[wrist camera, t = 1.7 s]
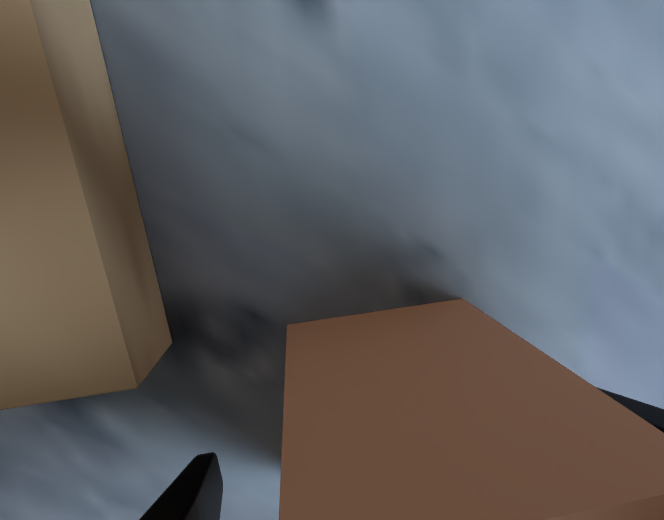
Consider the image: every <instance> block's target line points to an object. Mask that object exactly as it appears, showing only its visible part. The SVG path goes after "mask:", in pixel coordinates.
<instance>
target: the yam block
mask: <svg viewBox="0 0 664 520" xmlns="http://www.w3.org/2000/svg"><path fill="white" fill-rule="evenodd" d="M279 520H664V433H663V432H662V431H660V430H659V429H657V428H656V427H654V426H653V425H651V424H650V423H648V422H647V421H645V420H644V419H642V418H641V417H639V416H638V415H636V414H635V413H633V412H632V411H630V410H629V409H627V408H626V407H624V406H623V405H621V404H620V403H618V402H617V401H615V400H614V399H612V398H611V397H609V396H608V395H606V394H605V393H603V392H602V391H600V390H599V389H597V388H596V387H594V386H593V385H591V384H590V383H588V382H587V381H585V380H584V379H582V378H581V377H579V376H578V375H576V374H575V373H573V372H572V371H570V370H569V369H567V368H566V367H564V366H563V365H561V364H560V363H558V362H557V361H555V360H554V359H552V358H551V357H549V356H548V355H546V354H545V353H543V352H542V351H540V350H539V349H537V348H536V347H534V346H533V345H531V344H530V343H528V342H527V341H525V340H524V339H522V338H521V337H519V336H518V335H516V334H515V333H513V332H512V331H510V330H509V329H507V328H506V327H504V326H503V325H501V324H500V323H498V322H497V321H495V320H494V319H492V318H491V317H490V316H488V315H487V314H485V313H484V312H482V311H481V310H479V309H478V308H476V307H475V306H473V305H472V304H470V303H469V302H467V301H466V300H464V299H456V300H449V301H443V302H436V303H429V304H423V305H416V306H409V307H402V308H396V309H389V310H382V311H376V312H369V313H362V314H355V315H349V316H342V317H335V318H329V319H322V320H315V321H309V322H302V323H295V324H288V325H287V337H286V361H285V385H284V409H283V432H282V456H281V480H280V504H279Z"/></svg>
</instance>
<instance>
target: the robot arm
mask: <svg viewBox="0 0 664 520" xmlns="http://www.w3.org/2000/svg"><path fill="white" fill-rule="evenodd" d="M596 388H597V387H596ZM597 389H599V390H600V391H602V392H603V393H605V394H606V395H608V396H609V397H611V398H612V399H614V400H615V401H617V402H618V403H620V404H621V405H623V406H624V407H626V408H627V409H629V410H630V411H632V412H633V413H635V414H636V415H638V416H639V417H641V418H642V419H644V420H645V421H647V422H648V423H650V424H651V425H653V426H654V427H656V428H657V429H659V430H660V431H662V432H663V433H664V409H661V408H658V407H655V406H652V405H649V404H646V403H643V402H639V401H636V400H633V399H630V398H627V397H624V396H621V395H618V394H615V393H612V392H609V391H606V390H603V389H600V388H597ZM222 494H223V481H222V476H221V472H220V467H219V463H218V458H217V456H216V454H215V453H213V452H211V453H205V454H200V455H197V456H196V457H195V458H194V459H193V460H192V461H191V462H190V463H189V464H188V465H187V467H186V468H185V469H184V470H183V471H182V472H181V473H180V474H179V476H178V477H177V478H176V479H175V480H174V481H173V482H172V483H171V485H170V486H169V487H168V488H167V489H166V490H165V491H164V492H163V494H162V495H161V496H160V497H159V498H158V499H157V500H156V501H155V502H154V504H153V505H152V506H151V507H150V508H149V509H148V510H147V511H146V513H145V514H144V515H143V516H142V517H141V518H140V519H139V520H220V511H221V502H222Z"/></svg>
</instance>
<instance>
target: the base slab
mask: <svg viewBox="0 0 664 520" xmlns="http://www.w3.org/2000/svg"><path fill="white" fill-rule="evenodd" d="M171 343H172V339H171V335H170V331H169V326H168V322H167V318H166V314H165V310H164V306H163V302H162V297H161V293H160V289H159V285H158V281H157V277H156V273H155V269H154V264H153V260H152V256H151V252H150V248H149V244H148V240H147V235H146V231H145V227H144V223H143V219H142V215H141V211H140V206H139V202H138V198H137V194H136V190H135V186H134V182H133V178H132V173H131V169H130V165H129V161H128V157H127V153H126V149H125V144H124V140H123V136H122V132H121V128H120V124H119V120H118V115H117V111H116V107H115V103H114V99H113V95H112V91H111V87H110V82H109V78H108V74H107V70H106V66H105V62H104V58H103V53H102V49H101V45H100V41H99V37H98V33H97V29H96V24H95V20H94V16H93V12H92V8H91V4H90V0H0V410H3V409H9V408H15V407H21V406H28V405H34V404H40V403H47V402H53V401H59V400H66V399H72V398H78V397H84V396H91V395H97V394H103V393H110V392H116V391H122V390H129V389H135V388H138V387H139V386H140V384H141V383H142V382H143V380H144V379H145V378H146V376H147V375H148V374H149V372H150V371H151V370H152V369H153V367H154V366H155V365H156V363H157V362H158V361H159V359H160V358H161V357H162V355H163V354H164V353H165V351H166V350H167V349H168V347H169V346H170V345H171Z"/></svg>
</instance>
